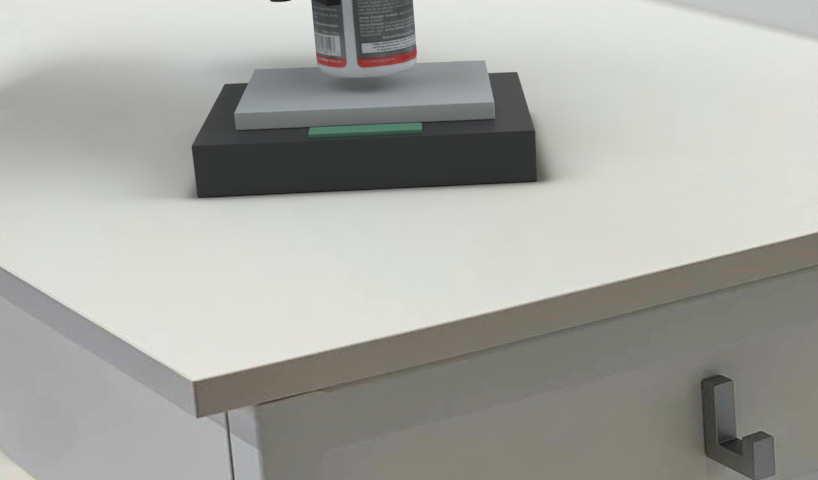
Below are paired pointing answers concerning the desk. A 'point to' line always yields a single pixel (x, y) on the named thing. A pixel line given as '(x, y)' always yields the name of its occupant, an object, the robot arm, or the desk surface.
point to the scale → (365, 131)
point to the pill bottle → (365, 37)
